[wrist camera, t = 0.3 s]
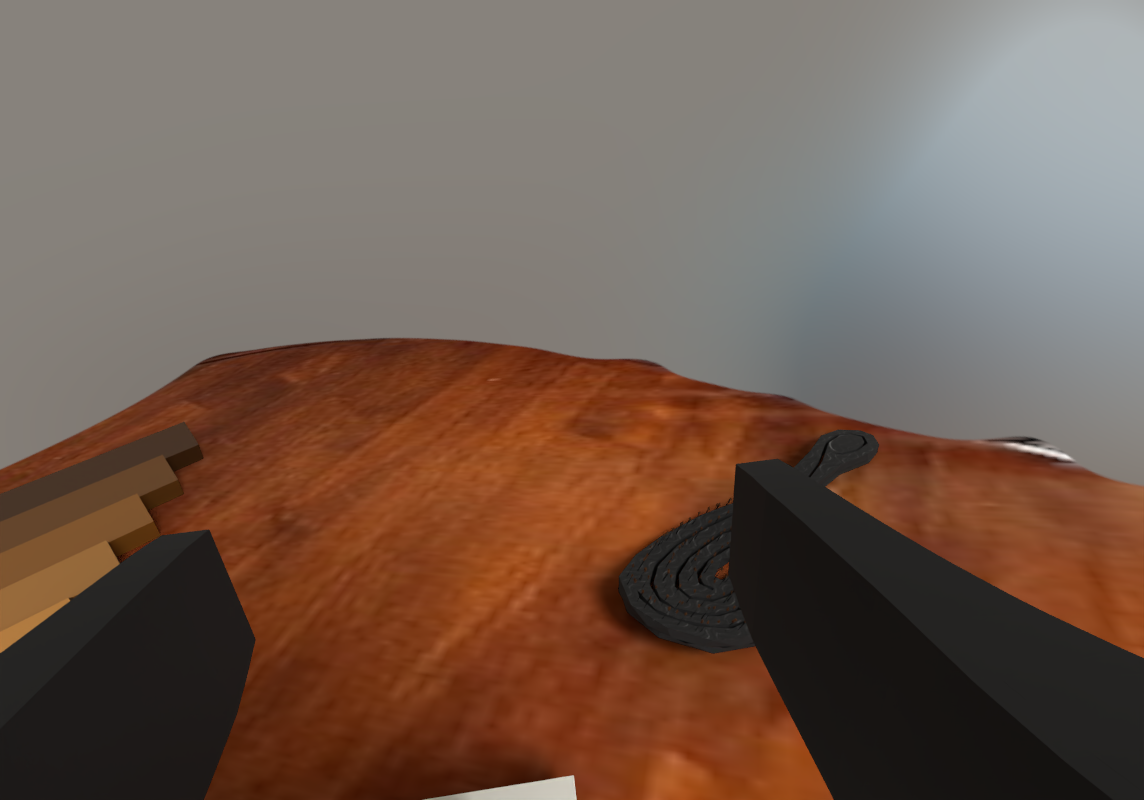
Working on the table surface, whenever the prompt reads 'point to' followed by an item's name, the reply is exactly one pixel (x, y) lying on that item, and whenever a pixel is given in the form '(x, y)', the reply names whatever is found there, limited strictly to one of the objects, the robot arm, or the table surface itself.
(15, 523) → the pan flute
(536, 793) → the board
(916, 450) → the table surface
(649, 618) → the hairbrush
